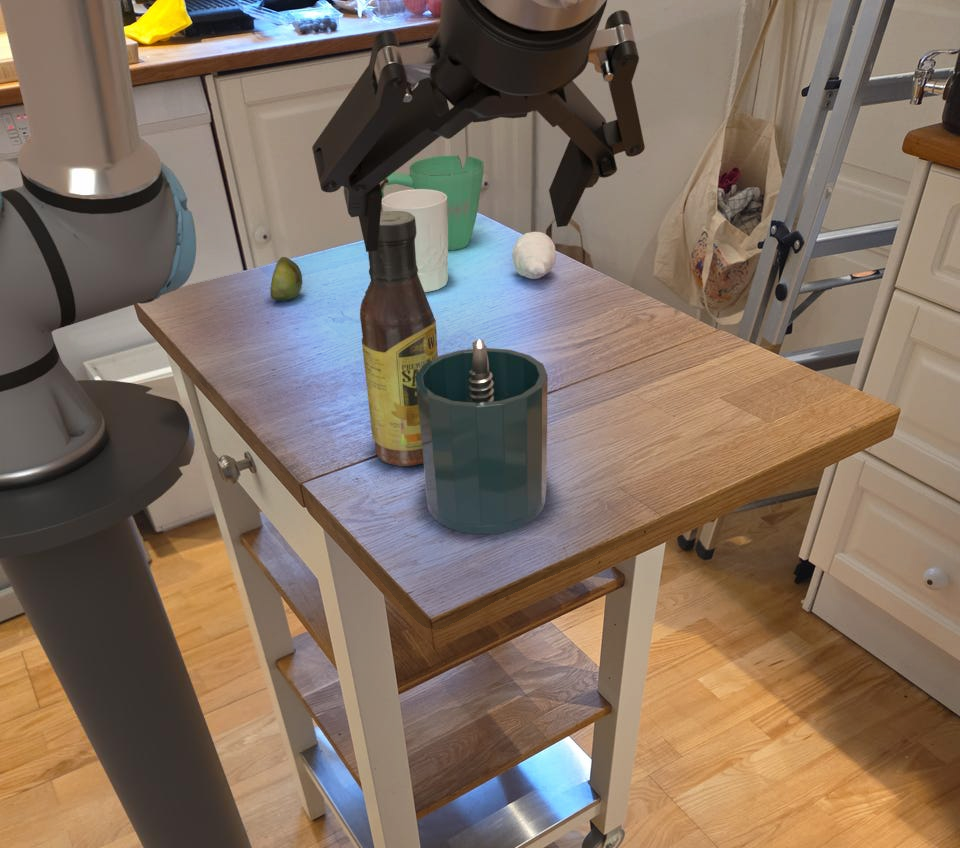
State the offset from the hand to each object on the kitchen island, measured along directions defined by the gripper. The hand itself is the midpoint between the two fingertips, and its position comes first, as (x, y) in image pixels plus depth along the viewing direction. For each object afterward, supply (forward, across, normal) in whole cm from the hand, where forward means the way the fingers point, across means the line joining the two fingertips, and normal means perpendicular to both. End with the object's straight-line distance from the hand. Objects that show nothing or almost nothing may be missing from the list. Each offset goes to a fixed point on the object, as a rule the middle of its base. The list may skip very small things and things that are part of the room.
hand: (464, 220), depth 61 cm
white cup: (+50, +6, +19) cm, 53 cm away
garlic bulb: (+46, +20, +16) cm, 52 cm away
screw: (+13, 0, -16) cm, 21 cm away
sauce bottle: (+20, -4, -10) cm, 23 cm away
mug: (+59, +11, +28) cm, 67 cm away
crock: (+13, 0, -17) cm, 21 cm away
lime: (+50, -11, +20) cm, 55 cm away
